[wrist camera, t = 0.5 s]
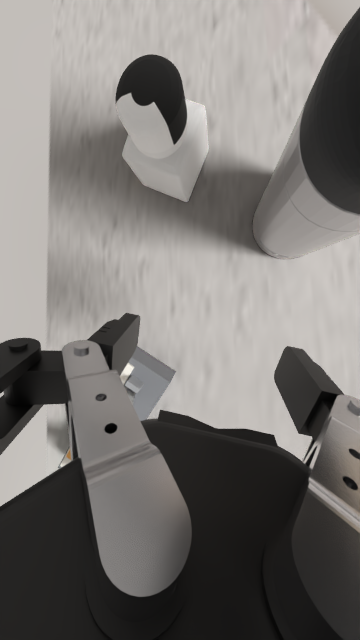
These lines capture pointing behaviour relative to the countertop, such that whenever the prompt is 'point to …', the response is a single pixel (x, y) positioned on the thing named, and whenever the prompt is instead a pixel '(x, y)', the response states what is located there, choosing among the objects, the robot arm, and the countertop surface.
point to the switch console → (141, 385)
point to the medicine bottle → (161, 127)
